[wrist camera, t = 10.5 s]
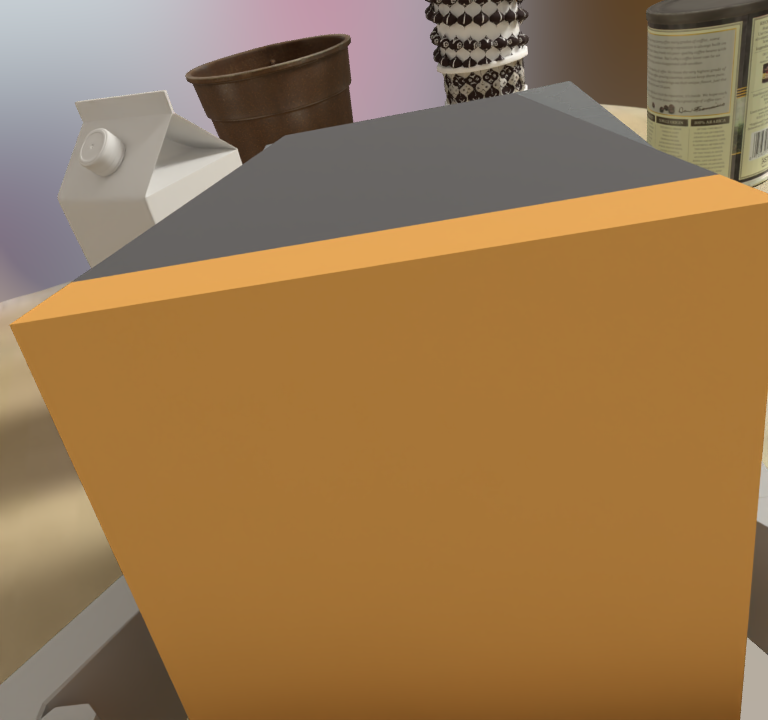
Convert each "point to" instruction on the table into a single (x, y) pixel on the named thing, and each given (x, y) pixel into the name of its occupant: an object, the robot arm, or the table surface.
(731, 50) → the coffee can
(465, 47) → the white and brown cylinder
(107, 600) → the robot arm
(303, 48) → the plant pot
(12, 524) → the table surface
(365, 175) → the orange and grey block
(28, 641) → the table surface
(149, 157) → the milk carton
